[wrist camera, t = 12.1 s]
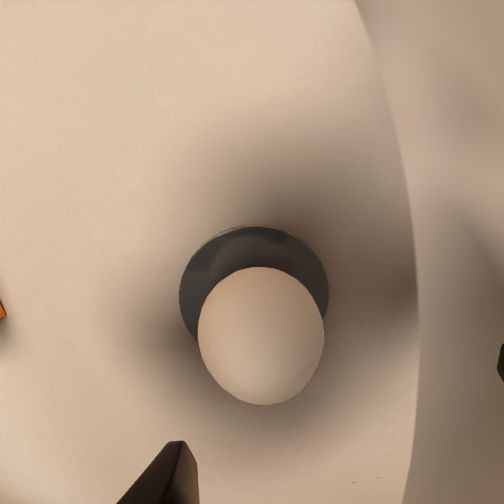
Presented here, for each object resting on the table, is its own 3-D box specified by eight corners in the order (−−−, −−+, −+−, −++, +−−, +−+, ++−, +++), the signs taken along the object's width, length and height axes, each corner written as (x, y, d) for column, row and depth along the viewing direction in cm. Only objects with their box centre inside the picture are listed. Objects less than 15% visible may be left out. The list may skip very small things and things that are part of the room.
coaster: (238, 192, 16) (239, 193, 16) (354, 281, 18) (357, 284, 17) (153, 311, 17) (151, 315, 17) (266, 380, 19) (267, 385, 18)
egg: (207, 247, 16) (186, 307, 9) (311, 254, 16) (364, 316, 9) (203, 340, 17) (188, 435, 10) (297, 344, 18) (329, 437, 11)
